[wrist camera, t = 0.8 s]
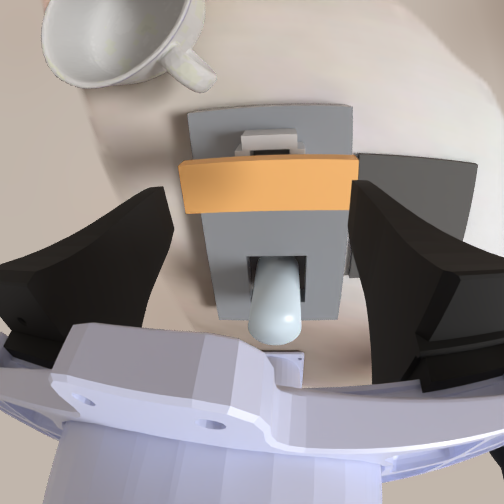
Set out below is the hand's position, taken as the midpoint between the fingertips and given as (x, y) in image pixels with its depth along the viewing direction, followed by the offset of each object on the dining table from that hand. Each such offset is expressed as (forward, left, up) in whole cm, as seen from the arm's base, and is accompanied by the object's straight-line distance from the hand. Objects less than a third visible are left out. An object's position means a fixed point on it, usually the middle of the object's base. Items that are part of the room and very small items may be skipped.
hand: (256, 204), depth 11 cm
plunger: (-1, 0, -9) cm, 9 cm away
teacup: (+10, +8, -14) cm, 19 cm away
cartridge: (-12, 0, -14) cm, 18 cm away
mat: (-7, -13, -14) cm, 20 cm away
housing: (-7, 0, -14) cm, 15 cm away
